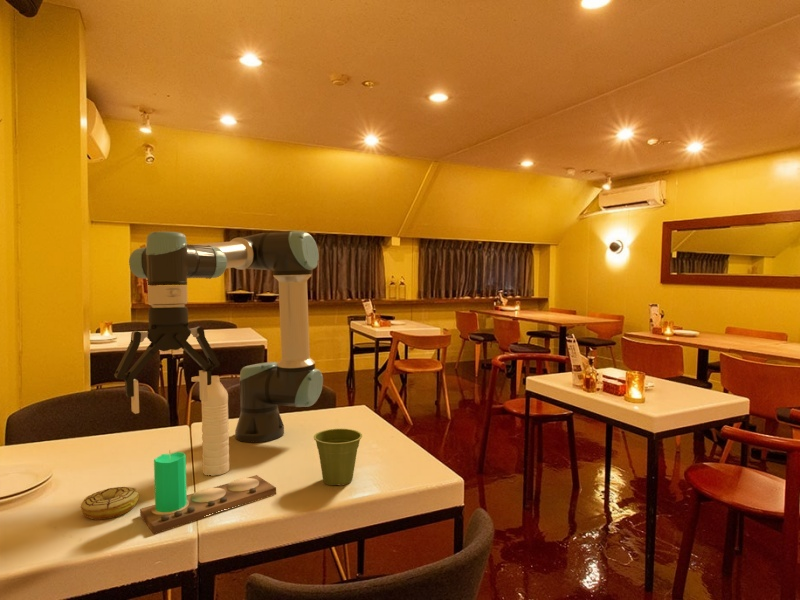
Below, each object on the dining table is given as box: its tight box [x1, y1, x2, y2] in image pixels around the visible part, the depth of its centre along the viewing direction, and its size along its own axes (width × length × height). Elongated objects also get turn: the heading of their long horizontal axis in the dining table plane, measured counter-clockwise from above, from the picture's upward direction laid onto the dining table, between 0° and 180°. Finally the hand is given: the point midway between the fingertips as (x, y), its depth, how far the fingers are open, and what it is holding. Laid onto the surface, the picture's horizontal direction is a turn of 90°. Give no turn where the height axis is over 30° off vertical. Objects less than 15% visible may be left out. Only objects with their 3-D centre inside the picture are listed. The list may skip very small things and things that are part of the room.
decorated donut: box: [79, 486, 140, 520], centre depth 103 cm, size 10×11×4 cm
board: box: [139, 475, 277, 535], centre depth 105 cm, size 10×26×2 cm, turn 132°
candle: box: [153, 449, 188, 512], centre depth 101 cm, size 6×6×12 cm
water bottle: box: [190, 375, 230, 477], centre depth 123 cm, size 9×6×25 cm
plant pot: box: [313, 428, 363, 486], centre depth 118 cm, size 12×12×11 cm
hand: (171, 406), depth 101 cm, fingers open, 13 cm apart
